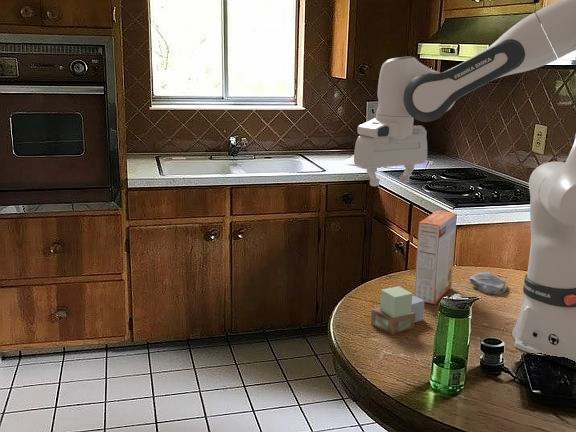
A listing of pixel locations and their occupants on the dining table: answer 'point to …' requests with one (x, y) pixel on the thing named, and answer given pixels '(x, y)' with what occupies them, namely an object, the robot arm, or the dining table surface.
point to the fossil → (488, 283)
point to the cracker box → (435, 256)
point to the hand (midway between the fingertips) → (389, 184)
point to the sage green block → (396, 301)
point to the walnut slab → (392, 321)
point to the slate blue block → (417, 308)
